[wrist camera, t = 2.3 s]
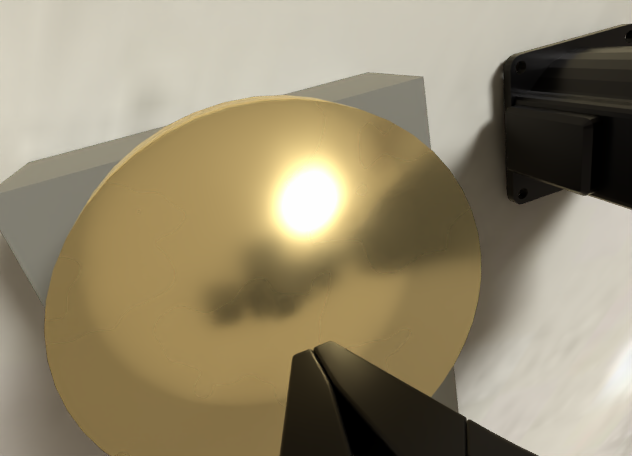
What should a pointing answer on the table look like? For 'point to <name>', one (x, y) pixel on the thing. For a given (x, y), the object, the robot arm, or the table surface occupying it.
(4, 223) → the panel
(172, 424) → the knob
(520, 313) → the table surface
